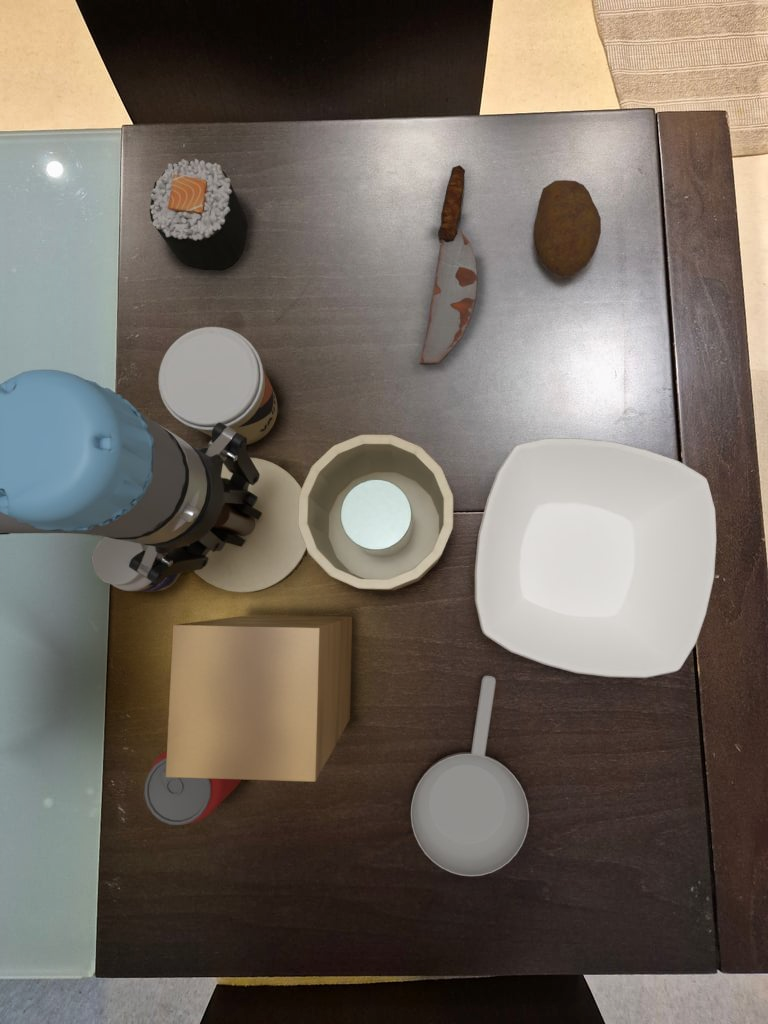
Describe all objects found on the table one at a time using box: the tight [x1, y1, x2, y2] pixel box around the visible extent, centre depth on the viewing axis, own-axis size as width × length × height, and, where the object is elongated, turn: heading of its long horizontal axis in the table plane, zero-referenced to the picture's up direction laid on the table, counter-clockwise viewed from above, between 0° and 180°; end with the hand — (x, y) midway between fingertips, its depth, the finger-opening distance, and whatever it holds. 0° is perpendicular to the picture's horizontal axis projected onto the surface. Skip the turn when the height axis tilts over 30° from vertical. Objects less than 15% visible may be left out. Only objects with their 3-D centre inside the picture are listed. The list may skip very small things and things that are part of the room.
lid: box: [189, 457, 307, 593], centre depth 69 cm, size 14×14×11 cm
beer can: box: [143, 749, 242, 826], centre depth 66 cm, size 7×7×12 cm
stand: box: [166, 614, 353, 783], centre depth 61 cm, size 10×10×24 cm
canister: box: [340, 479, 413, 557], centre depth 67 cm, size 6×6×12 cm
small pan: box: [410, 674, 530, 877], centre depth 69 cm, size 11×18×4 cm, turn 171°
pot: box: [298, 434, 454, 591], centre depth 67 cm, size 13×13×14 cm
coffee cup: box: [158, 326, 278, 445], centre depth 70 cm, size 9×9×12 cm
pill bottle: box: [91, 536, 182, 592], centre depth 70 cm, size 6×6×10 cm
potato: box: [533, 179, 602, 279], centre depth 73 cm, size 7×10×6 cm
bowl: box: [474, 437, 718, 679], centre depth 68 cm, size 21×21×9 cm
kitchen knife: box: [419, 164, 478, 364], centre depth 76 cm, size 21×2×5 cm
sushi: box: [149, 158, 248, 271], centre depth 74 cm, size 8×8×8 cm
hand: (240, 522), depth 72 cm, fingers closed on lid, 2 cm apart
